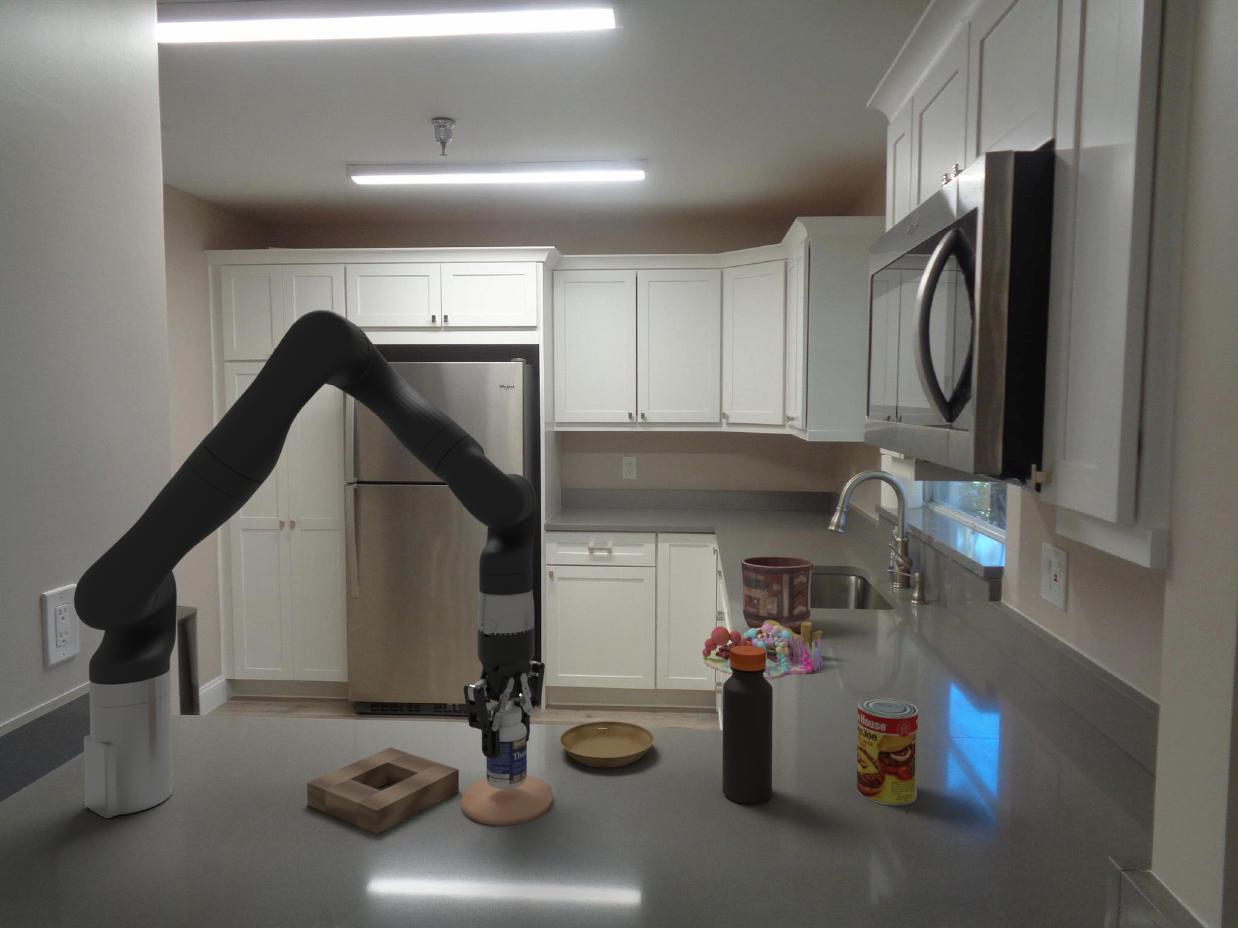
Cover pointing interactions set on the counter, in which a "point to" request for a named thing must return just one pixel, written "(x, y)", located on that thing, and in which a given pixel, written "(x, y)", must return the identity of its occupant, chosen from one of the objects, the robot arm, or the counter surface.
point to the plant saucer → (606, 743)
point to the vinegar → (747, 728)
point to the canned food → (887, 750)
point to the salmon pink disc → (506, 802)
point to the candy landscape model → (768, 648)
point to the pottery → (776, 591)
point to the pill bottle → (509, 752)
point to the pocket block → (379, 810)
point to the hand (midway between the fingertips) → (506, 748)
